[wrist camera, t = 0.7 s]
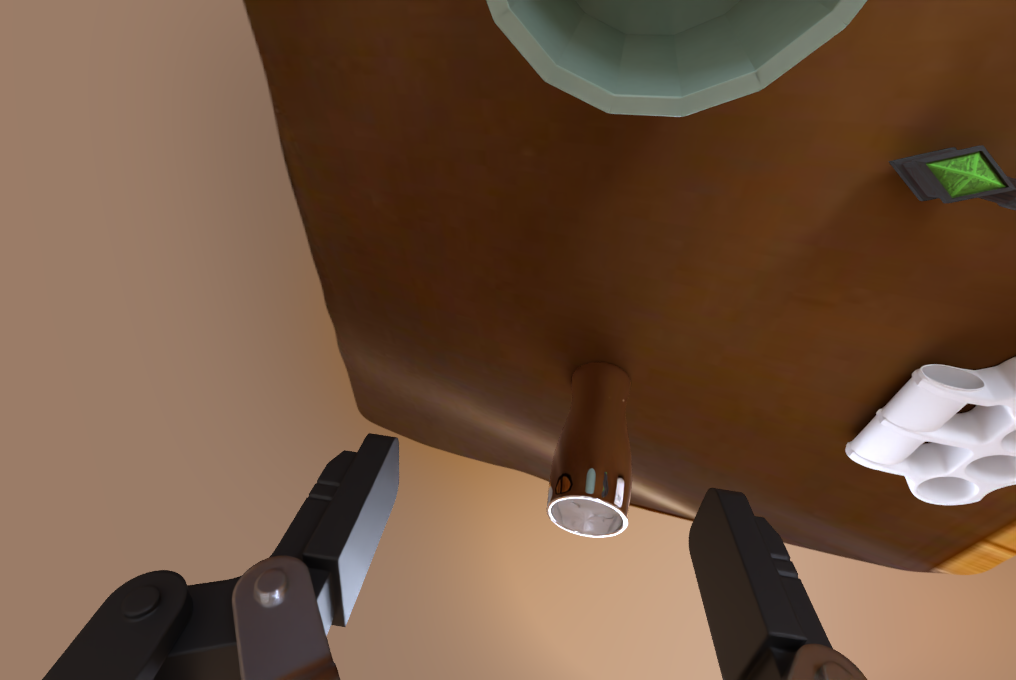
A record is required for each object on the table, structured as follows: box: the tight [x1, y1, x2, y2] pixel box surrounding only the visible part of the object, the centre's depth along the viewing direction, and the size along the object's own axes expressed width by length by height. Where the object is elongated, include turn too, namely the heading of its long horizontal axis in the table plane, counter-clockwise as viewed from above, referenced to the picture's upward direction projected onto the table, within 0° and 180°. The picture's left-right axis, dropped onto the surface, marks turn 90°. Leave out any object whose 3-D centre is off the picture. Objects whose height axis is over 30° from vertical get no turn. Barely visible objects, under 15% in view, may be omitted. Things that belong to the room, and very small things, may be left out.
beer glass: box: [547, 362, 632, 537], centre depth 44 cm, size 7×7×15 cm
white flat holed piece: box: [845, 357, 1016, 505], centre depth 41 cm, size 3×18×15 cm
